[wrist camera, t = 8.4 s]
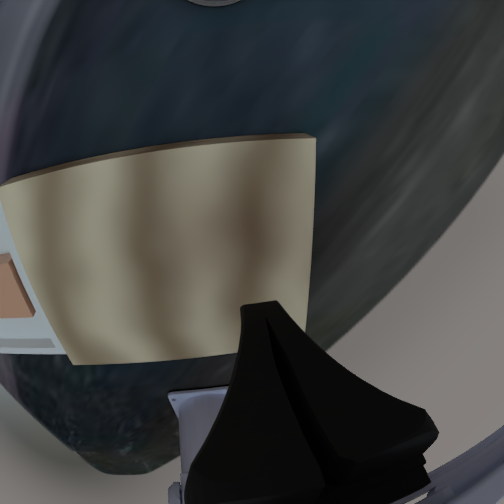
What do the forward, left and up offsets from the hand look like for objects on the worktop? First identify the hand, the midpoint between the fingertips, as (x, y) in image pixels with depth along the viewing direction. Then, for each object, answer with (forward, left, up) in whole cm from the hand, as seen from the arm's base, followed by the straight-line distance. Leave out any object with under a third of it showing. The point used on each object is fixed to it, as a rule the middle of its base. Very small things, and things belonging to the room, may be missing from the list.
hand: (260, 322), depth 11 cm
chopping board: (-3, +5, -10) cm, 12 cm away
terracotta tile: (-3, +19, -10) cm, 21 cm away
